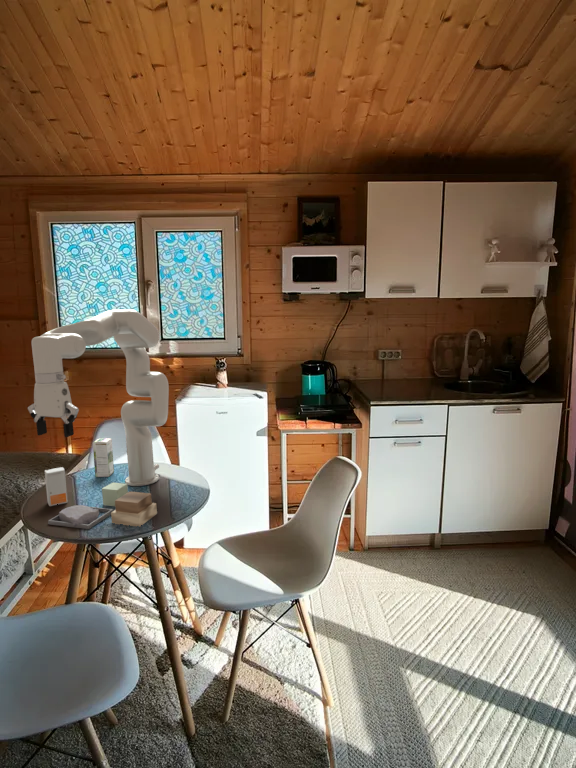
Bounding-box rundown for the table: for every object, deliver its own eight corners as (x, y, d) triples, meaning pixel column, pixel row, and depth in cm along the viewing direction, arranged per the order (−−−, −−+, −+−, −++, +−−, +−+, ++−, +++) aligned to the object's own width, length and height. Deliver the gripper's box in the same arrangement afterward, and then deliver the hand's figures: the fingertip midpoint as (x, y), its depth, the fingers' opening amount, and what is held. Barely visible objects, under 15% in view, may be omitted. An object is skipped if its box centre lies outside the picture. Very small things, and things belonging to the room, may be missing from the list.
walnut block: (130, 501, 168) (129, 491, 167) (151, 503, 165) (151, 493, 165) (115, 511, 160) (114, 500, 159) (137, 513, 158) (137, 503, 157)
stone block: (85, 517, 171) (56, 522, 164) (86, 503, 171) (56, 507, 164) (104, 524, 164) (74, 530, 156) (104, 509, 164) (75, 514, 156)
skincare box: (49, 507, 174) (45, 473, 172) (47, 503, 177) (43, 470, 176) (68, 502, 177) (65, 469, 175) (66, 499, 181) (62, 466, 179)
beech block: (130, 511, 169) (129, 500, 168) (157, 514, 166) (156, 503, 166) (112, 524, 160) (111, 512, 159) (139, 527, 157) (139, 515, 156)
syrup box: (100, 472, 208) (97, 438, 206) (114, 472, 208) (111, 437, 206) (95, 477, 203) (91, 442, 200) (109, 476, 202) (106, 441, 200)
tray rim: (75, 508, 172) (75, 505, 172) (113, 512, 168) (113, 509, 168) (48, 524, 160) (48, 520, 160) (88, 529, 156) (88, 525, 156)
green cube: (113, 498, 180) (112, 482, 179) (128, 500, 178) (127, 483, 177) (103, 505, 174) (101, 488, 173) (118, 506, 173) (117, 490, 172)
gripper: (83, 376, 150) (88, 433, 153) (35, 375, 155) (41, 430, 158) (65, 381, 143) (71, 440, 146) (15, 379, 148) (22, 436, 151)
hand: (55, 435), depth 152 cm, fingers open, 9 cm apart
